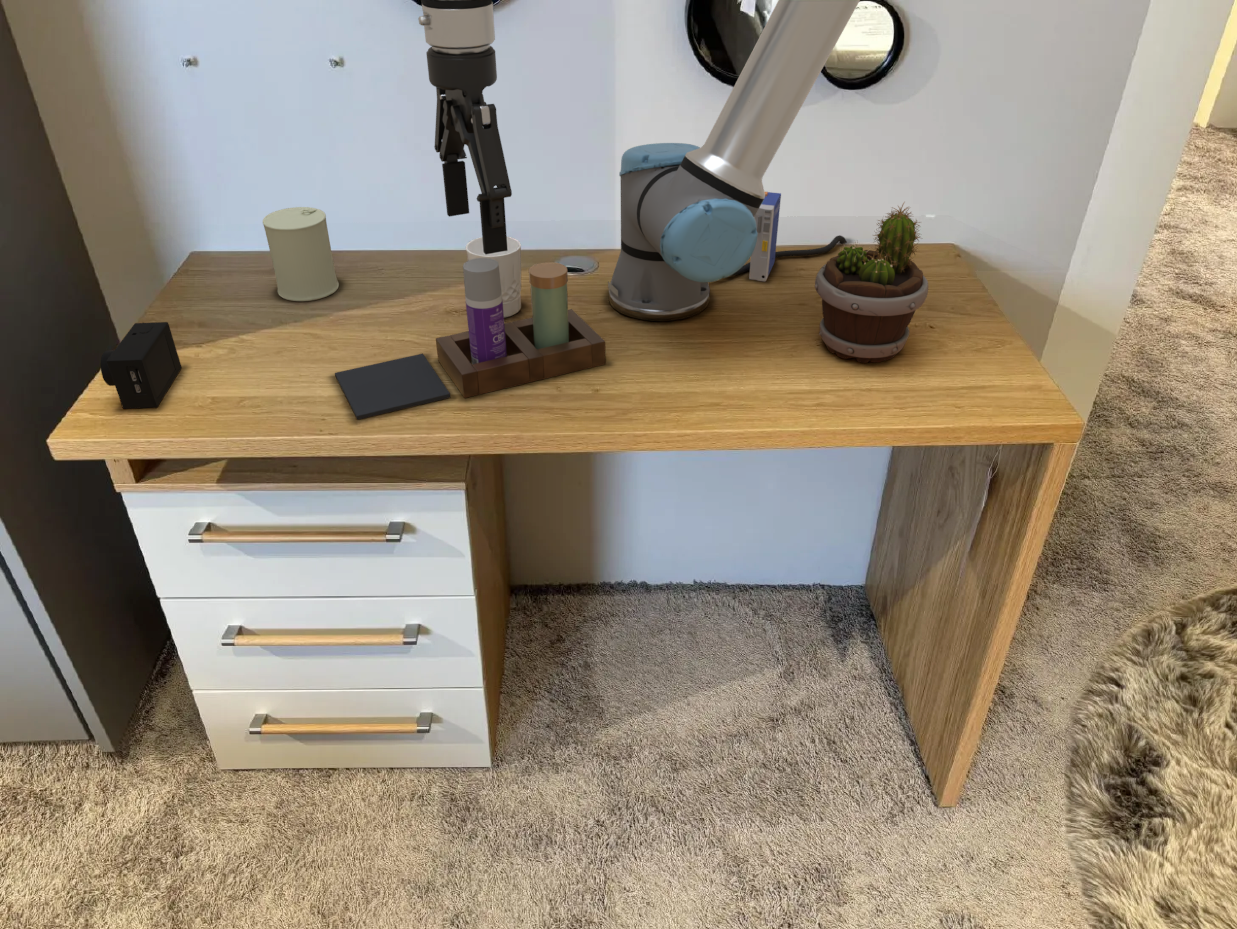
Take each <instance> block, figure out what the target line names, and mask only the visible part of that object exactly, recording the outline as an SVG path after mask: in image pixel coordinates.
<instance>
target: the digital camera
mask: <svg viewBox="0 0 1237 929" xmlns="http://www.w3.org/2000/svg"><path fill="white" fill-rule="evenodd" d="M182 369H183V367H182V364H181V361H180V357H179V354H178V351H177V347H176V344H175V341H174V337H173V334H172V330H171V327H170V324H169V322H167V321H159V322H158V321H157V322H135V323H134V324H133V325H132V327H131V328H130V329H129V330H128V332H127V333H126V334H125V336H124V337H123V338H122V339H121V341H120V342H119V344H118V345H117V346H116V348H114V349H113V350H111V349H109V350H105V351H104V352H102V354H101V358H100V373H101V377H102V379H103V381H104V383H105V384H106V385H107V386H110V387H115V389H116V393H117V396H118V398H119V401H120V404H121V407H122V409H123V410H128V409H131V410H132V409H154V408H155V409H156V408H158V407H159V406H160V404H161V403H162V401H163V399H164V398H165V396H166V395H167V393H168V391H169V389H170V388H171V386H172V384H174V381H175V379H176V378H177V376H178V375H179V373H180V372H181V370H182Z"/></svg>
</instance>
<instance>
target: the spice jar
mask: <svg viewBox="0 0 1237 929" xmlns="http://www.w3.org/2000/svg"><path fill="white" fill-rule="evenodd" d="M568 273H569V272H568V267H567V266H566V265H565V264H562V263H560V262H555V261H554V262H553V261H546V262H540V263H535V264H533V265H532V266H530V267H529V268H528V279H529V280H528V281H529V286H530V300H531V318H532V319H533V336H534V347H535V348H536V349H541V348H545V347H550V346H554V345H559V344H563V343H567V342H569V322H568V310H569V302H568V301H569V299H568V298H569V296H568V281H569V276H568V275H569V274H568Z"/></svg>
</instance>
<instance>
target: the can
mask: <svg viewBox="0 0 1237 929" xmlns="http://www.w3.org/2000/svg"><path fill="white" fill-rule="evenodd" d="M262 225H263V228H264V232H265V235H266V236H265V237H266V241H267V245H268V249H269V253H270V258H271V262H272V267H273V272H274V276H275V281H276V286H277V294H278V296H279V297H281V298H283V299H284V300H286V301H290V302H291V301H292V302H311V301H318V300H321V299H325V298H326V297H329V296H331V295H333V294H334V293H336V292H337V290H338V289H339V287H340V283H339V281H338V278H337V272H336V268H335V262H334V258H333V253H332V247H331V241H330V235H329V229H328V223H327V215H326V213H325V211H323V210H322V209H319V208H316V207H309V206H295V207H287V208H282V209H278V210H275V211H272V212H271V213H268V214H266V215H265V216H264V217H263V219H262Z"/></svg>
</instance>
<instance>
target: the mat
mask: <svg viewBox="0 0 1237 929" xmlns="http://www.w3.org/2000/svg"><path fill="white" fill-rule="evenodd" d="M334 376H335V379H336V381H337V383H338V385H339V387H340V389H341V390H342V393H343V395H344V396H345V399H346V401H347V402H348V404H349V406H350V408H351V410H352V413H353V414H354V416H355V419H356V420H363V419H367V418H371V417H375V416H379V415H380V416H381V415H383V414H387V413H392V412H395V411H400V410H405V409H408V408H413V407H417V406H421V405H425V404H430V403H434V402H437V401H442V400H446V399H449V398H451V393H450V391H449V390H448V389H447V387H446V385H445V384H444V383H443V381H442V380H441V378H440V376H439V375H438V374H437V373H436V371H435V369H434V368H433V366H432V365H431V364H430V362H429V361H428V359H427V357H426V356H425V355H424V354H423V353H419V354H418V353H417V354H414V355H410V356H404V357H401V358H396V359H392V360H387V361H382V362H378V363H374V364H369V365H364V366H360V367H355V368H351V369H347V370H342V371H338V372H337V371H336V372H334Z"/></svg>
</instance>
